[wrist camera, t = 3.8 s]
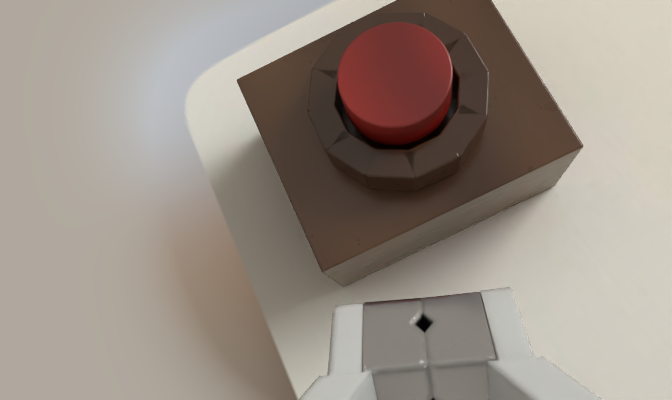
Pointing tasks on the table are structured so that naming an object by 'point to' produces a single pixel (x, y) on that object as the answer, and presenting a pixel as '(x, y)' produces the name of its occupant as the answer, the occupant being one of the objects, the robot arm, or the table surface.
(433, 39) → the button
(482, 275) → the table surface
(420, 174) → the brown push button box
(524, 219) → the table surface
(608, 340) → the table surface
